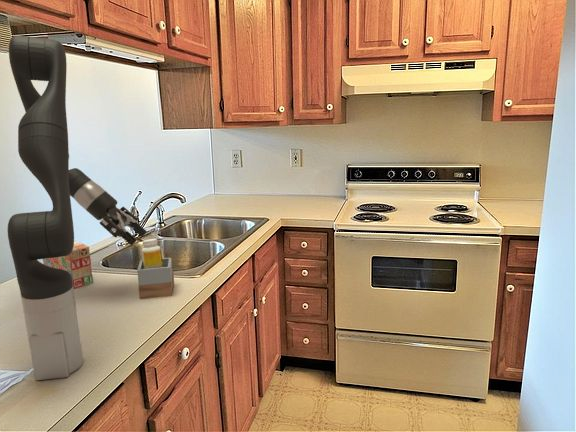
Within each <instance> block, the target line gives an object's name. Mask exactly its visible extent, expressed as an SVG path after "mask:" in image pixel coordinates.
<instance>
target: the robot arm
mask: <svg viewBox="0 0 576 432" xmlns="http://www.w3.org/2000/svg"><path fill="white" fill-rule="evenodd" d="M8 57H9V58H8V59H9V64H10V65H9V66H10V68H11V69H10V70H11V72H12V75H13V79H14V82H15V84H16V85H15V86H16V88H17V91H18V94H19V97H20V100H21V102H22V106H23V108H24V111H25V113H24V114H23V116H21V118H20V121H19V124H18V127H17V128H18V129H17V133H18V135H17V152H18V155H19V157H20V160H21V162H22V163H23V164H24V165H25V166H26V168H27V169H28V170H29V171H30V173H31V174H32V176H34V177H35V179H36V180H38V182H39V183H40V184H41V186H42V187H43V189H44V190H45V191H46V193H47V194H48V196H49V198H50V200H51V202H52V209H51V210H46V211H35V212H34V211H31V212H23V213H22V212H21V213H15V214H12V215H11V217H10V218H9V219H8V223H7V239H8V245H9V248H10V252H11V256H12V260H13V261H12V262H13V264H14V268H15V274H16V278H17V279H16V280H17V284H18V287H19V292H20V298H21V304H22V309H23V310H22V311H23V315H24V321H25V328H26V333H27V340H28V344H29V351H30V356H31V361H32V368H33V373H34V379H35V381H42V380H43V381H44V380H52V379H54V380H55V379H60V378H68V377H69V376H70V375H71V374H72V373H74V372H76V370H78V369H80V367H82V365H83V363H84V355H83V354H84V353H83V348H82V341H81V335H80V328H79V326H80V325H79V320H78V313H77V306H76V301H75V299H76V298H75V291H74V290H75V289H73V282H72V277H71V274H70V273H69V272H67V271H65V270H62V269H57V268H53V267H49V266H46V265H44V263H43V262H40V261H39V260H43V259H46V258H54V257H63V256H68V255H69V254H71V252H72V250H73V247H74V241H75V232H74V231H75V230H74V221H73V212H72V211H73V210H72V203H71V197H72V198H73V199H74V201H75V202H76V203H77V204H78V205H79V206H80V207H82V208H83V209H84V210H85V211H86V212H87V213H89V214H90V215H91V216H92V217H94V219H96V220H97V221H99V224H100V225H101V226H102V227H103V228H104V229H105V230H106V231H107V232H108V233H109V234H110V235H111V236H112V237H114V238H118V237H119V238H122V239H123V240H124V241H125V242H127V243H128V244H129V245H131V246H133V245H134V244H135V243H136V242H137V241H138V239H137V238H136V237H135V236H134V235H133V234H132V233H130V232H129V231H128V230H127V229H126V227H128V228H130V229H132V231H134V232H135V233H136V234H137V235H138V236H140V237H144V236H145V235H146V234H147V230H146V229H145V228H144V227H143V226H141V225H140V224H139V223H138V221H139V218H138V217H137V216H135V214H133V213H132V212H131V211H130V210H128V209H127V208H126V207H125V206H122V207H121V208H118V207H117V204H118V200H116V198H114V197H113V196H112V195H111V194H110V193H109V192H107V191H106V190H105V189H104V188H103V187H102V186H100V184H99V183H96V182H95V181H94V180H92V179H91V178H90V177H89V176H87V175H86V173H84V172H83V171H82V170H81V169H79V168H77V167H76V168H75V167H74V168H71V169H69V167H70V166H69V163H70V161H69V160H70V153H69V150H70V148H69V132H68V131H69V130H68V120H67V119H68V118H67V105H66V104H67V103H66V101H67V99H66V98H67V97H66V94H67V64H68V63H67V54H66V50H65V47H64V45H63V44H62V43H61V42H60V41H59V40H56V39H51V38H45V37H35V36H27V35H26V36H25V35H14V36H12V37H11V38H10V40H9V43H8ZM32 81H39V82H41V81H42V82H48V83H47V85H46V88H45V89H44V91H43V93H42V94H40V93H39V92H38V90H37V89H36V88H35V86H34V85H33V82H32Z"/></svg>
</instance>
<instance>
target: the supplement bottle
mask: <svg viewBox="0 0 576 432" xmlns="http://www.w3.org/2000/svg"><path fill="white" fill-rule="evenodd" d="M158 242H159V241H158V238H150V239H144V240H142V245H143V248H142V249H141V257H142V260H143V265H144V269H149V268H161V267H163V262H162V258H163V256H162V250H161V246H160V245H158Z"/></svg>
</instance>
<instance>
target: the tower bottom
mask: <svg viewBox="0 0 576 432" xmlns="http://www.w3.org/2000/svg"><path fill="white" fill-rule="evenodd" d="M174 289H175V277H174V271H172V282H168V283H158V284H148V285H139V284H138V293H139V294H138V295H139V299H141V300H143V299H144V300H145V299H154V298H164V297H165V298H166V297H173V295H174Z"/></svg>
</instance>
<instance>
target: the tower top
mask: <svg viewBox="0 0 576 432" xmlns="http://www.w3.org/2000/svg"><path fill="white" fill-rule="evenodd" d="M162 262H163V267H161V268H149V269H144V265H143V259H140V260H139V264H138V266H137V271H136V272H137V280H138V285H148V284H158V283H168V282H172V272H173V263H172V257H162Z"/></svg>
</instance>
